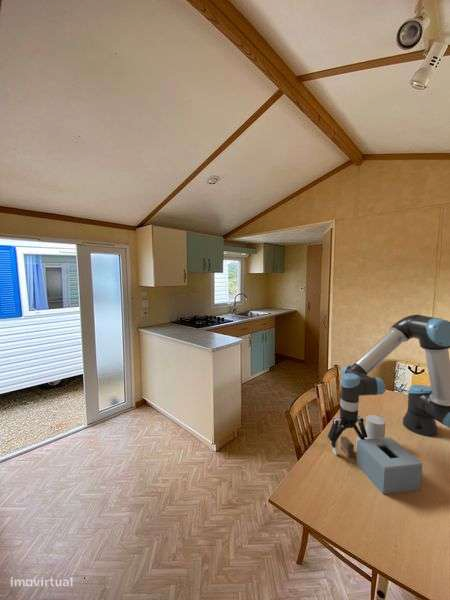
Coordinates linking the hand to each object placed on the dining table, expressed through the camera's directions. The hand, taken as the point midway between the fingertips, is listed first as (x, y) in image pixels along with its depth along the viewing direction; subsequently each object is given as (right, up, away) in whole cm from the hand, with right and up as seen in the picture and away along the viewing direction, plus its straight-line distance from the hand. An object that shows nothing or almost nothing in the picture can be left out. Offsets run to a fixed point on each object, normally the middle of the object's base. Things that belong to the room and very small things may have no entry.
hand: (346, 452), depth 120 cm
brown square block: (0, 0, 0) cm, 0 cm away
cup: (+17, 0, +7) cm, 19 cm away
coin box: (+10, -2, -14) cm, 17 cm away
